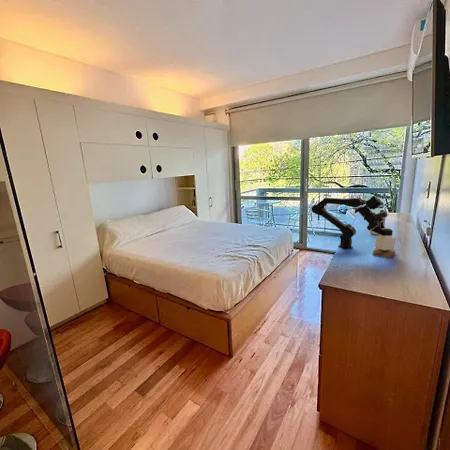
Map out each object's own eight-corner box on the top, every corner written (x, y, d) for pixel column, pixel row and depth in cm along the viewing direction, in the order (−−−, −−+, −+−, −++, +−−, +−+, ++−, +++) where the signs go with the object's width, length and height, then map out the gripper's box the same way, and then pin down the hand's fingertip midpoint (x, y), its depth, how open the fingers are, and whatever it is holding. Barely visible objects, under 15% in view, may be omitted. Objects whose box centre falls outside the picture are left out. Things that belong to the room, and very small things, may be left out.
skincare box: (384, 234, 189) (386, 215, 186) (380, 236, 186) (382, 216, 183) (372, 232, 196) (374, 214, 193) (369, 233, 193) (371, 215, 190)
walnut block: (372, 255, 149) (373, 250, 148) (376, 250, 156) (376, 246, 156) (392, 258, 143) (393, 254, 142) (394, 254, 150) (395, 249, 149)
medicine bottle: (394, 249, 146) (397, 230, 143) (383, 250, 145) (386, 231, 142) (384, 245, 153) (387, 227, 150) (374, 246, 152) (376, 228, 149)
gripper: (375, 208, 139) (396, 230, 135) (382, 204, 153) (401, 223, 148) (359, 220, 146) (377, 241, 142) (366, 214, 160) (384, 234, 155)
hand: (385, 234), depth 147 cm, fingers closed on medicine bottle, 6 cm apart
